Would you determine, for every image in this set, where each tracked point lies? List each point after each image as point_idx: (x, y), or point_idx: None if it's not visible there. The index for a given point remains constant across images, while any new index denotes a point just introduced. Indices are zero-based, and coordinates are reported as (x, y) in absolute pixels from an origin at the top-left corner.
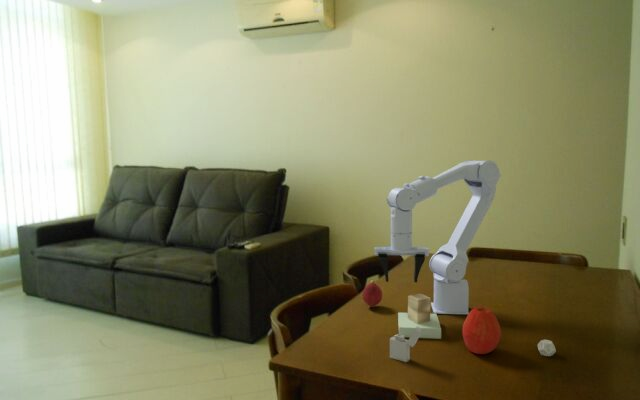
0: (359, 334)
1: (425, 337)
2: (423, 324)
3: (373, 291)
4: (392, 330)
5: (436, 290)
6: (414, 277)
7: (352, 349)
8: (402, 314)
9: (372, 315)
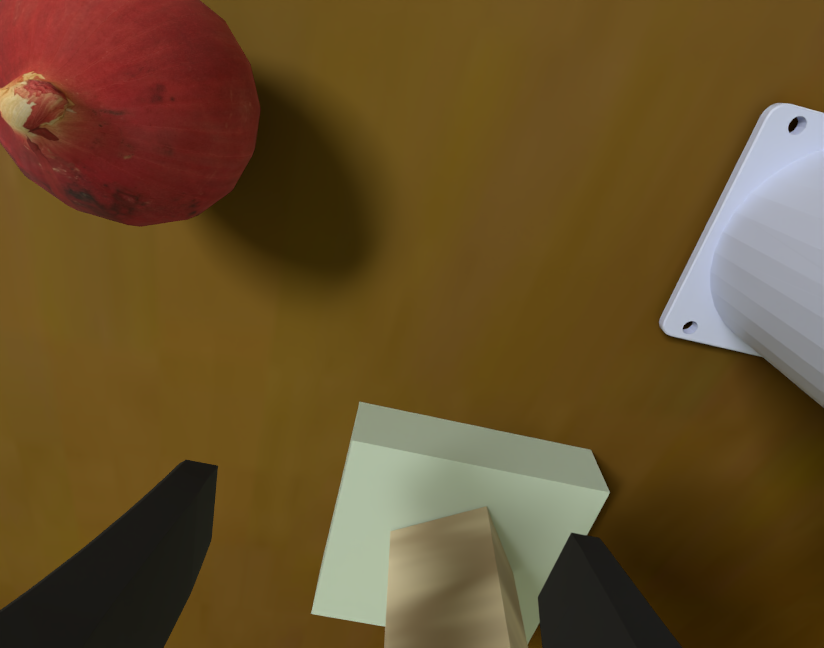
0: None
1: None
2: None
3: (113, 219)
4: (299, 504)
5: (821, 369)
6: (560, 638)
7: None
8: (374, 474)
9: (191, 285)
